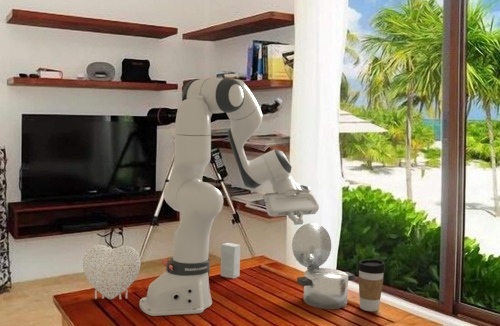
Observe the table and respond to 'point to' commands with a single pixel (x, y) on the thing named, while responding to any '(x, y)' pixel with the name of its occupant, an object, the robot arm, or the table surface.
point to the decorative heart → (111, 269)
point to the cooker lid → (311, 245)
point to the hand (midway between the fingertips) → (299, 223)
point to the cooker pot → (325, 287)
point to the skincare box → (230, 260)
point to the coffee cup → (370, 283)
